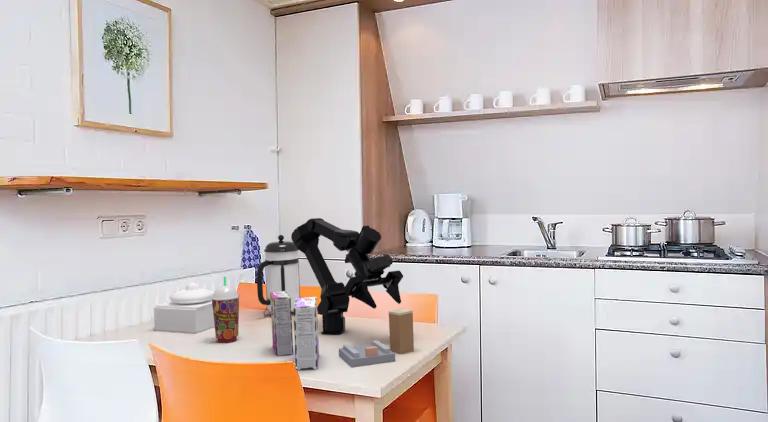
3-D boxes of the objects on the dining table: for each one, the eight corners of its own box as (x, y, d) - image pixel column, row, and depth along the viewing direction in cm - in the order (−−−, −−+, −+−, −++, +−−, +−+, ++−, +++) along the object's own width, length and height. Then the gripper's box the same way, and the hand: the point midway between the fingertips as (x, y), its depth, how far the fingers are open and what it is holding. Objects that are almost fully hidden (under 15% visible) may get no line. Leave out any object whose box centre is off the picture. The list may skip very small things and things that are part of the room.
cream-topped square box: (390, 351, 166) (388, 311, 165) (403, 347, 169) (402, 308, 169) (400, 354, 162) (399, 313, 162) (413, 350, 166) (412, 310, 165)
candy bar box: (271, 347, 175) (269, 291, 174) (288, 345, 176) (286, 290, 176) (275, 356, 164) (273, 298, 164) (293, 354, 166) (291, 296, 165)
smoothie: (216, 345, 179) (213, 279, 179) (210, 339, 187) (208, 276, 186) (244, 341, 183) (241, 276, 183) (237, 336, 191) (234, 274, 190)
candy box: (298, 356, 164) (295, 297, 164) (319, 355, 165) (317, 296, 164) (294, 370, 150) (292, 306, 150) (318, 369, 151) (315, 305, 150)
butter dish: (154, 331, 202) (152, 285, 202) (190, 320, 219) (188, 277, 219) (196, 334, 196) (194, 286, 195) (229, 322, 213) (228, 278, 212)
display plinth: (339, 355, 163) (338, 341, 163) (380, 350, 167) (379, 336, 167) (351, 367, 152) (351, 351, 152) (395, 361, 156) (394, 346, 156)
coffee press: (262, 311, 230) (259, 234, 230) (304, 309, 232) (301, 232, 231) (258, 320, 213) (255, 237, 212) (303, 318, 215) (300, 235, 214)
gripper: (348, 249, 167) (374, 291, 159) (398, 243, 179) (424, 283, 171) (333, 274, 173) (357, 317, 165) (382, 267, 185) (407, 307, 177)
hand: (388, 305), depth 170 cm, fingers open, 9 cm apart
